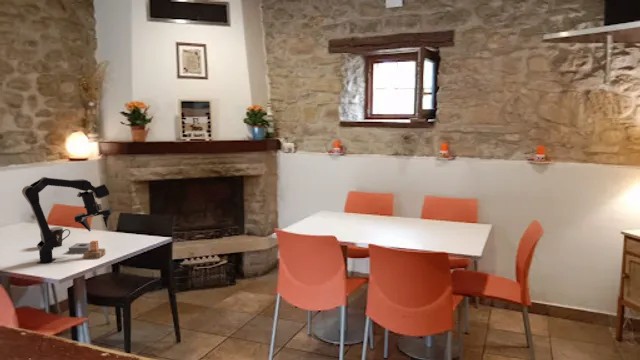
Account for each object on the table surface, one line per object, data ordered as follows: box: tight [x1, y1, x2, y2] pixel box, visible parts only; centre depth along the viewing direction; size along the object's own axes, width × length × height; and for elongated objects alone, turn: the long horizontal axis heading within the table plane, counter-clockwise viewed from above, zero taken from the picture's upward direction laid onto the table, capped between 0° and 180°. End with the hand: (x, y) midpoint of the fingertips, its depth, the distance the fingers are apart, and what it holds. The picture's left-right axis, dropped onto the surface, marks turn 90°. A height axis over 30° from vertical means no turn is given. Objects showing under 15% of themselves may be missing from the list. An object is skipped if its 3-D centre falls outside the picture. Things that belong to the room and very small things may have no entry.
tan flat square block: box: [83, 248, 106, 260], centre depth 267 cm, size 8×8×3 cm
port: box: [68, 242, 90, 254], centre depth 278 cm, size 10×10×3 cm
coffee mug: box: [49, 226, 71, 248], centre depth 288 cm, size 12×9×10 cm
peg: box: [89, 240, 100, 252], centre depth 266 cm, size 3×3×8 cm
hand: (98, 229), depth 273 cm, fingers open, 9 cm apart
